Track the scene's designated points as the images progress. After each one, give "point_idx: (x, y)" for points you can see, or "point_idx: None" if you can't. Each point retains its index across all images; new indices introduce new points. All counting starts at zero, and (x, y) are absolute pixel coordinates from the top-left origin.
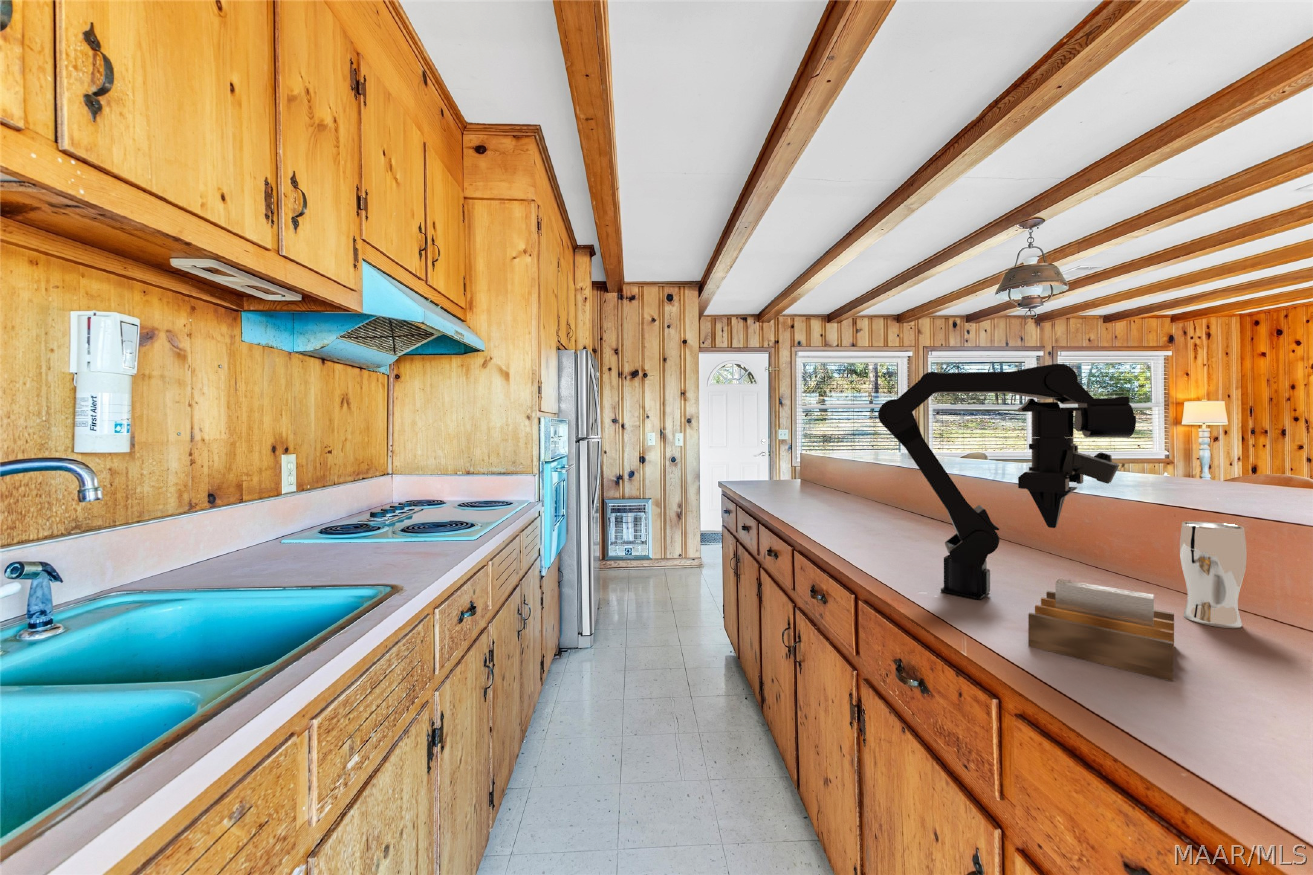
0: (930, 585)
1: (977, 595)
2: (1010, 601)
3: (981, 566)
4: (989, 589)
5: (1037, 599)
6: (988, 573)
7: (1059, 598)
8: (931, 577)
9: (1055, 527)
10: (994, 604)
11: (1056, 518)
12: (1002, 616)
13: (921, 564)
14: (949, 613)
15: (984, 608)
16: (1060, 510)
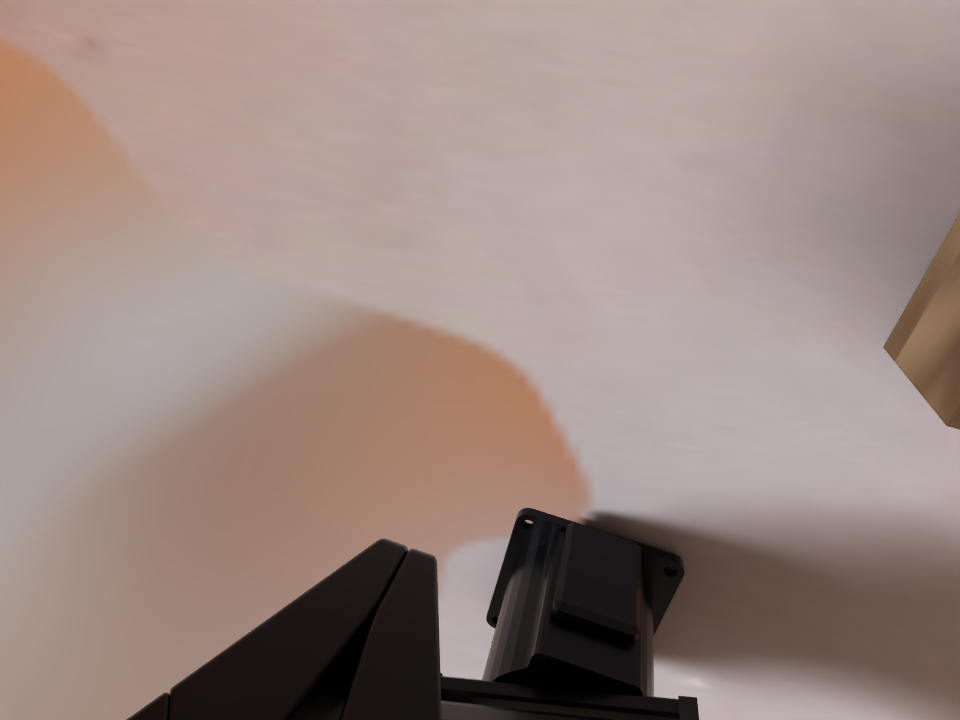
0: None
1: (660, 571)
2: (630, 448)
3: (641, 674)
4: (584, 533)
5: (528, 336)
6: (596, 603)
7: None
8: None
9: (433, 556)
10: (718, 513)
11: (434, 661)
12: (914, 514)
13: None
14: (947, 679)
15: (806, 557)
16: (282, 710)
